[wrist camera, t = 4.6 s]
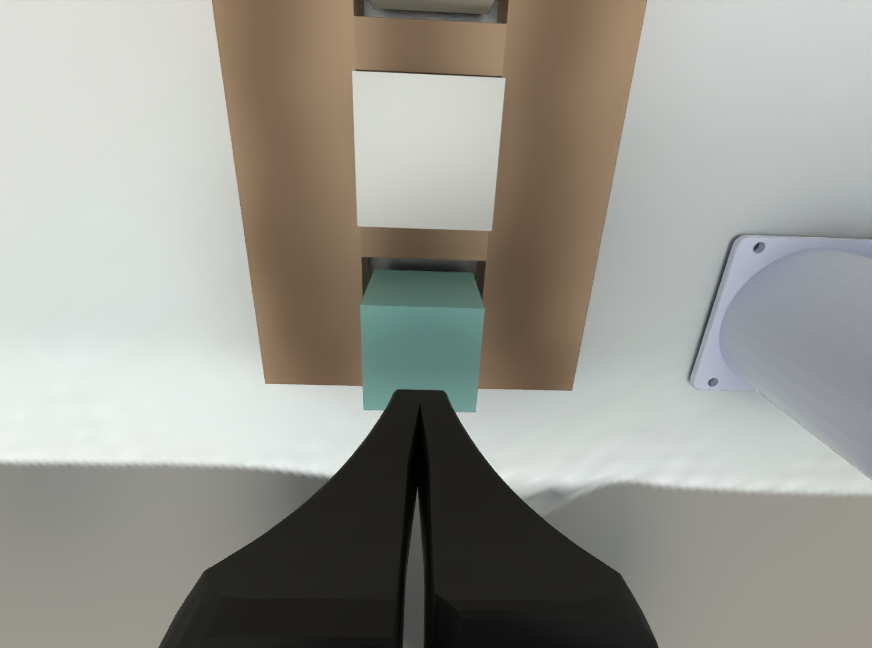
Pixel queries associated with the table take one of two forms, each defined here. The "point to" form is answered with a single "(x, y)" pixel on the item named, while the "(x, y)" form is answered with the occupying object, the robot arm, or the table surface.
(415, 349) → the teal key
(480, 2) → the ivory key
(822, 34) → the table surface
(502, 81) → the grey key
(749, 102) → the table surface
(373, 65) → the walnut keypad frame
